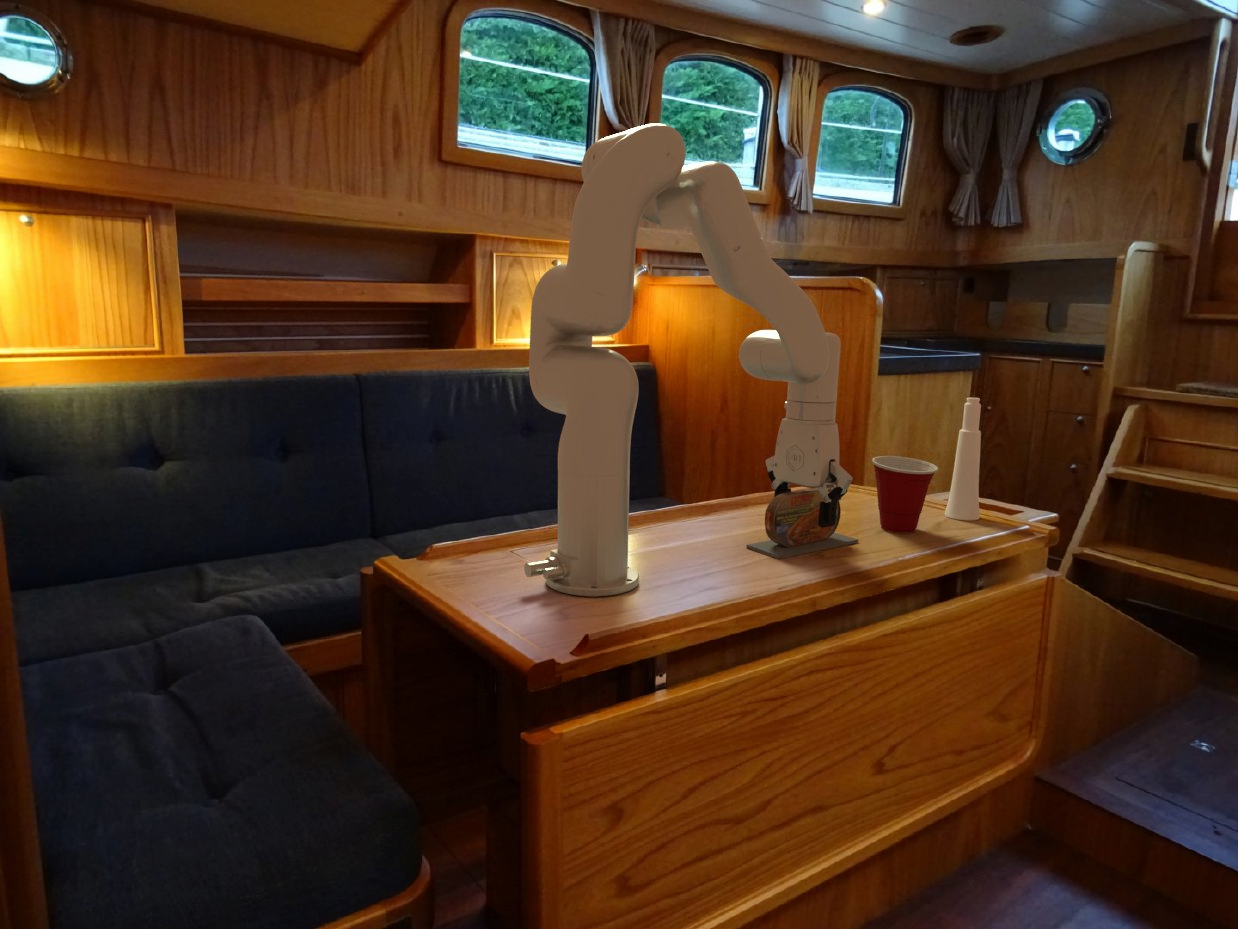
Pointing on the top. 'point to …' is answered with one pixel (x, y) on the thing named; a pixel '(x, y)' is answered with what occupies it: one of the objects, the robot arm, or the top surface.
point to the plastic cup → (901, 491)
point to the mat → (800, 546)
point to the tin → (797, 518)
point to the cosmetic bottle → (966, 467)
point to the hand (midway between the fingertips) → (803, 519)
